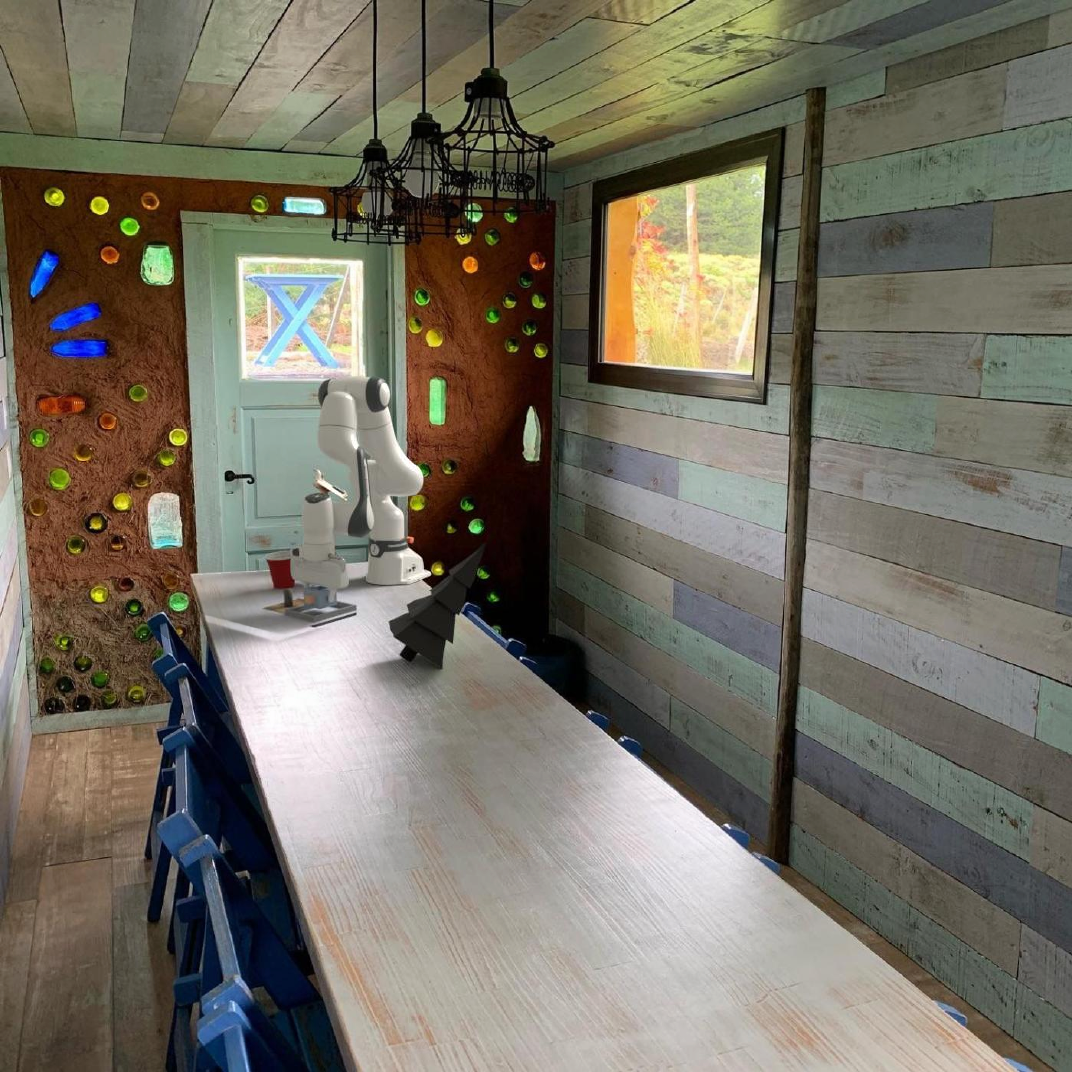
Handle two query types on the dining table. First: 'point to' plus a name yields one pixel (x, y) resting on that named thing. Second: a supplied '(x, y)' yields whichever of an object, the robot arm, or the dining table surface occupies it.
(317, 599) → the collar
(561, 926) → the dining table surface
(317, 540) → the robot arm
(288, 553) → the plastic cup
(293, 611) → the tray
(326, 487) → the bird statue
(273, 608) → the board
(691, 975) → the dining table surface
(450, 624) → the decorative tree
